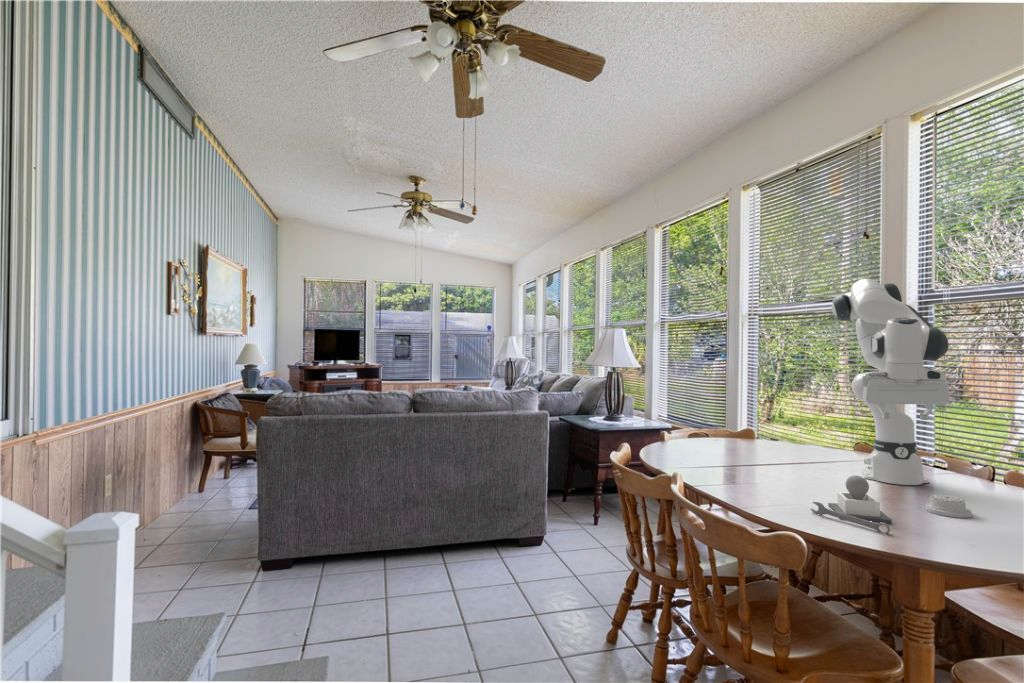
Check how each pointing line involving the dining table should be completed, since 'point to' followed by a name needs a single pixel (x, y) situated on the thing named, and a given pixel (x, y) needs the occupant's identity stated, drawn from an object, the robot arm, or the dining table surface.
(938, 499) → the mechanical component
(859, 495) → the light bulb
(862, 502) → the lamp base
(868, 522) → the combination wrench
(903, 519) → the dining table surface
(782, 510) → the dining table surface
